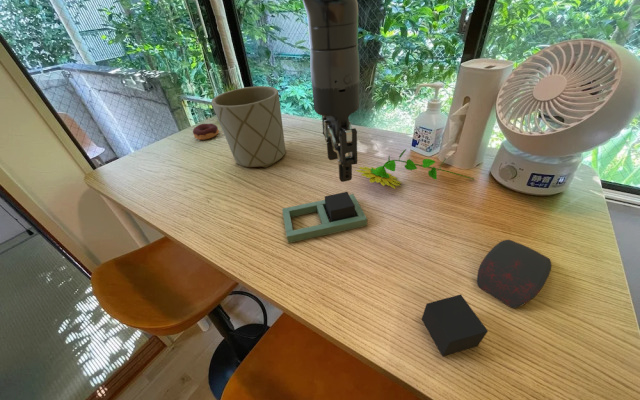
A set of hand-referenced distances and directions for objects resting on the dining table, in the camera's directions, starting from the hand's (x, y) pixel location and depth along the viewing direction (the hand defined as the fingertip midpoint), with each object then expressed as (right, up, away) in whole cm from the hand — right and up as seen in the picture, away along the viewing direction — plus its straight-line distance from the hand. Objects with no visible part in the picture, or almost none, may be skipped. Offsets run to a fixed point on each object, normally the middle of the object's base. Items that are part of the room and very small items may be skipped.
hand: (339, 168), depth 50 cm
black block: (+15, -25, -13) cm, 32 cm away
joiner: (-3, -11, +8) cm, 14 cm away
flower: (+20, -1, +18) cm, 27 cm away
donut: (-50, +20, +54) cm, 76 cm away
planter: (-24, +8, +36) cm, 44 cm away
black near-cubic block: (+1, -10, +9) cm, 13 cm away
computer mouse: (+29, -19, -6) cm, 35 cm away
